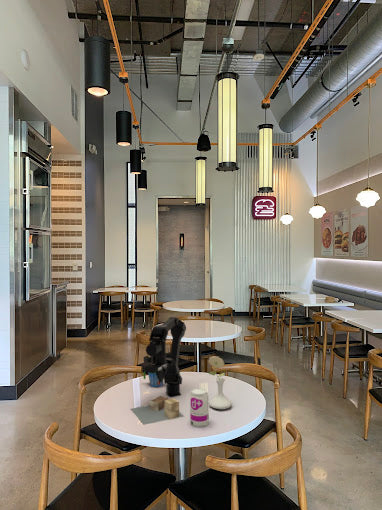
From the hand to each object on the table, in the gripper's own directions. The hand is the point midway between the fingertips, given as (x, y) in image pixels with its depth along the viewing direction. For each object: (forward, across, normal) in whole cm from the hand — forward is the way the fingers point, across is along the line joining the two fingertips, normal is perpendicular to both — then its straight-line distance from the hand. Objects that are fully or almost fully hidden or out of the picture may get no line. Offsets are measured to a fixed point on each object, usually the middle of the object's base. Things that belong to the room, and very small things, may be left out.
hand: (160, 382), depth 193 cm
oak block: (+11, +8, +13) cm, 19 cm away
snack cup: (+12, -23, -22) cm, 34 cm away
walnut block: (+9, +7, +2) cm, 12 cm away
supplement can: (+12, +7, +28) cm, 32 cm away
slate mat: (+12, +8, +4) cm, 15 cm away
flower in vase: (+12, -16, +25) cm, 32 cm away
